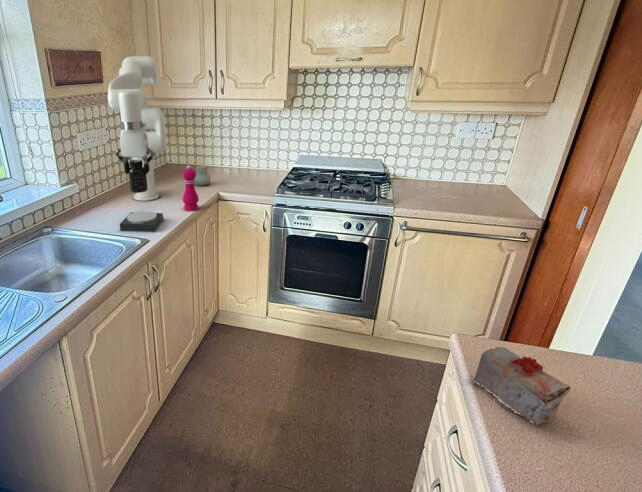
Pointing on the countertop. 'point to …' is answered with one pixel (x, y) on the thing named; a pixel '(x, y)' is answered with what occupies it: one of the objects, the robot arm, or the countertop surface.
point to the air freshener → (202, 176)
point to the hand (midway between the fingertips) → (137, 173)
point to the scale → (141, 221)
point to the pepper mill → (190, 190)
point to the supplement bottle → (137, 177)
